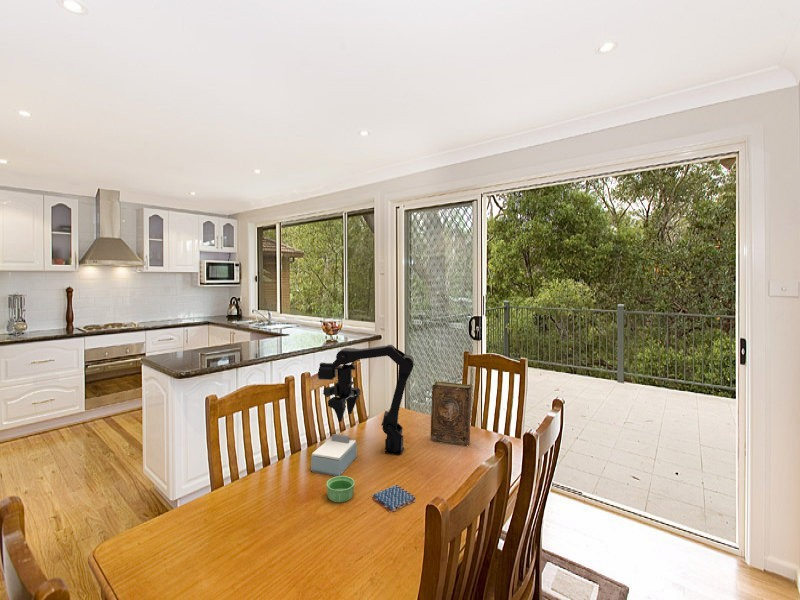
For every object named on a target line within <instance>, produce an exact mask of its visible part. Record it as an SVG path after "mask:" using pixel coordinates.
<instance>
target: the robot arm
mask: <svg viewBox="0 0 800 600" xmlns="http://www.w3.org/2000/svg"><path fill="white" fill-rule="evenodd" d="M380 357H388V358H390V359H391V360H392V362H394V363H395V364H396V365H398V372H397V373H398V374H397V376H398V377H397V381H396V385H395V389H394V394H393V397H392V400H391V403H390V408H389V409H388V410H384V414H383V418H382V422H381V426H382V431H383V433H384V434H385V435H386V437H385V440H384V449H385V451H384V453H385V454H390V455H397V456H401V455H402V453H403V451H404V450H405V447H404V435H403V429H404V427H403V426H402V425H401V424H400V423H399V414H400V413H399V412H400V408H401V404H402V400H403V397H404V391H405V388H406V385H407V380H408V379H409V377H410V375H411V373H412V371H413V368H414V366H415V359H414V358H413V356H412V355H410V354H406V353H404V352H403V351H401V350H400V349H398V348H396V347H395V346H394V345H393V344H387V345H381V346H375V347H366V348H354V347H353V348H352V347H344V348H341V349H340V350H339V351H338V352H337V354H336V356H335V360H334V361H333V362H320V363H319V367H318V372H317V377H318V380H322V381H324V380H326V381H329V380H330V381H334V379H335V378H337V381H336V383H335V384H334V385H331V386H326V387H323V391H322V392H323V393H322V394H323V395H324V396H325V397H326V398H329V397H331V396H333V397H331V398H329V399H328V401H327V407H329V408H330V409H331V408H332V410H334V412H335V415H336V418H337V420H338V421H337V422H340V423H342V421H343V418H344V414H345V411H346V408H347V411H348V415H351V414H353V411H354V409H355V406H356V404H357V402H358V399H359V398H360V396H361V389H360V388H359V387H354V386H353V385H354V383H355V382H354V381H353V375H352V374H353V371H355V370H356V369H357V367H358V366H357V365H355V364H354V362H357V361H360V360H366V359H374V358H380ZM341 365H342V366H341ZM346 404H347V405H346Z"/></svg>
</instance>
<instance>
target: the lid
mask: <svg viewBox="0 0 800 600" xmlns="http://www.w3.org/2000/svg"><path fill="white" fill-rule="evenodd" d="M355 443H357V440H354V439H351V437H350V435H345V434H338V433H332V434H331V437H330V438H329V439H327V440H326V441H325V442H324V443H322V444H321V445H320V446H319V447H318V448H317V449H315V450H314V451H313V452H312V453H311V456H312V455H313V456H319V457H325V458H331V459H337V460H340V458H341V457H342V456H343V455H344V454H345V453H346V452H347V451H348V450H349V449H350V448H351V447H352V446H353V445H354V444H355Z"/></svg>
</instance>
